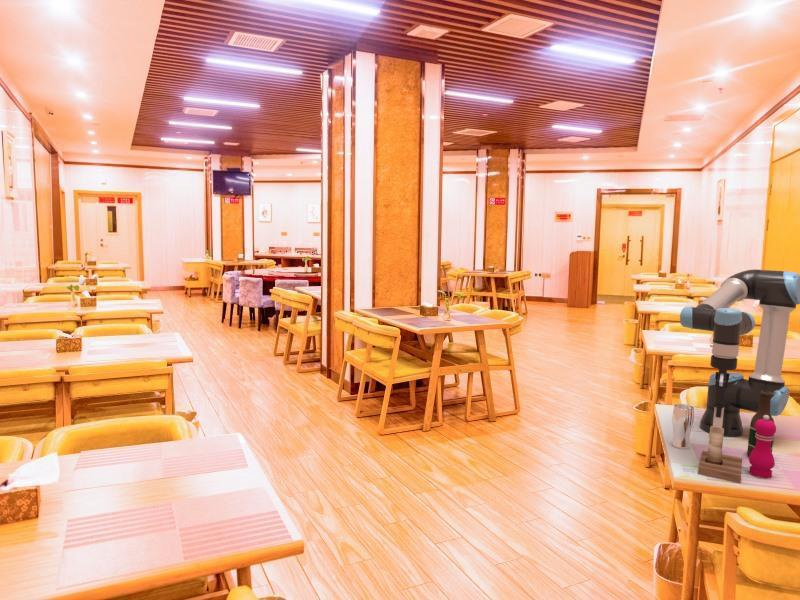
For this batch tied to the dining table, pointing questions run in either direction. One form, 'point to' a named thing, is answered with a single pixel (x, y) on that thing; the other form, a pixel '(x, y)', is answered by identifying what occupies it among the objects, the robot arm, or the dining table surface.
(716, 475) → the board
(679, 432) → the beer glass
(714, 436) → the peg
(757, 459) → the pepper mill
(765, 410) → the beer bottle
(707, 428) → the robot arm
